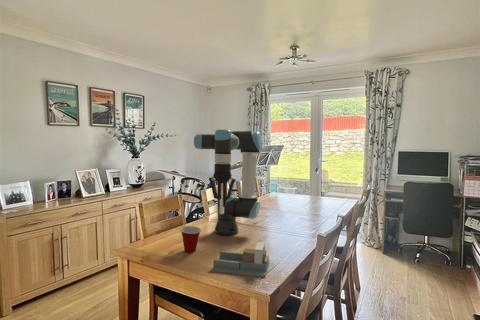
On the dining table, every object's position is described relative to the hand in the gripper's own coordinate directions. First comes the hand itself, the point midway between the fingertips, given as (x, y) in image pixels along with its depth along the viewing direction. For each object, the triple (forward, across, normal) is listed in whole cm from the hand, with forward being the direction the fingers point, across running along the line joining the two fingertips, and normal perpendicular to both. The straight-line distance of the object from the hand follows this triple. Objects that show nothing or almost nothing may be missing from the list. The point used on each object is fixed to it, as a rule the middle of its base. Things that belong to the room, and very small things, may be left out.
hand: (221, 213), depth 135 cm
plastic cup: (+25, -20, +12) cm, 34 cm away
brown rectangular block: (+23, +16, 0) cm, 28 cm away
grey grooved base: (+24, +10, 0) cm, 26 cm away
